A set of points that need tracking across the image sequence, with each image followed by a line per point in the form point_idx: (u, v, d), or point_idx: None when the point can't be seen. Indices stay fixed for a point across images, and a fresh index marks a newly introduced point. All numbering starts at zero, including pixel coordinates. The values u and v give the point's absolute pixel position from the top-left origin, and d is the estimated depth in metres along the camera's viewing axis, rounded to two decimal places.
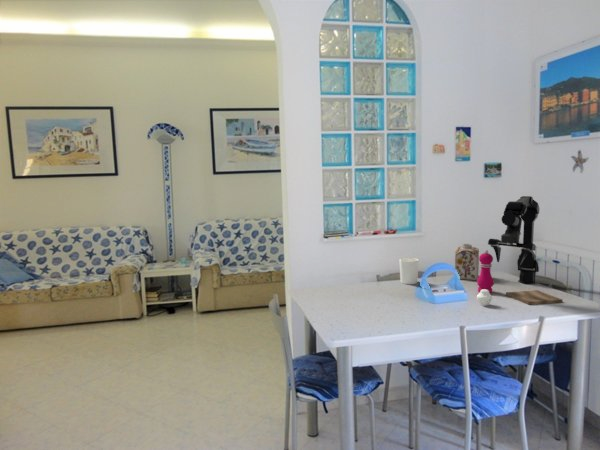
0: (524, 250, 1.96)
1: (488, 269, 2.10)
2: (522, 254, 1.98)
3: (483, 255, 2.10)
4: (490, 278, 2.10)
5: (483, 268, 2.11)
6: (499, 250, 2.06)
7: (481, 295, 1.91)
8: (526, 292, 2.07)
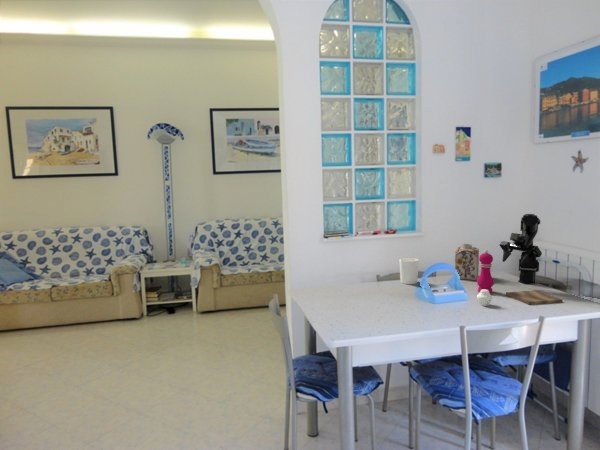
0: (528, 250, 2.08)
1: (488, 269, 2.10)
2: (526, 255, 2.09)
3: (483, 255, 2.10)
4: (490, 278, 2.10)
5: (483, 268, 2.11)
6: (508, 253, 2.19)
7: (481, 295, 1.91)
8: (526, 292, 2.07)
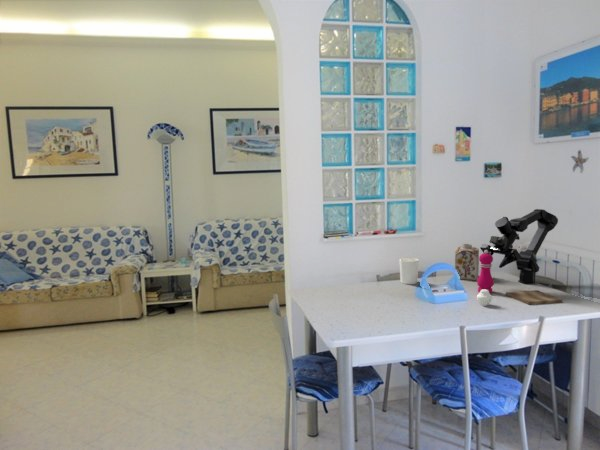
0: (507, 253, 2.09)
1: (488, 269, 2.10)
2: (504, 258, 2.10)
3: (483, 255, 2.10)
4: (490, 278, 2.10)
5: (483, 268, 2.11)
6: None
7: (481, 295, 1.91)
8: (526, 292, 2.07)
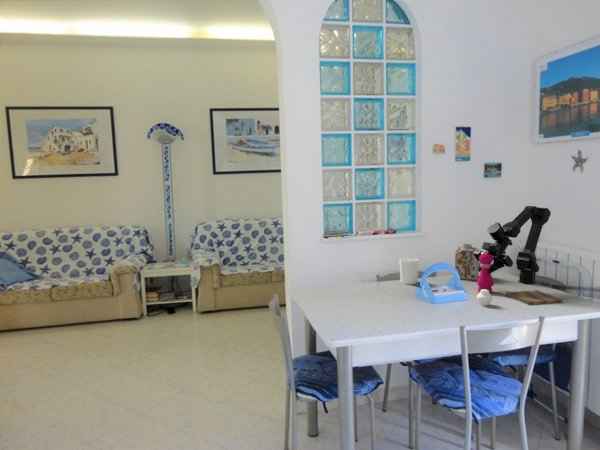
0: (496, 259, 2.08)
1: (488, 269, 2.10)
2: (493, 264, 2.09)
3: (483, 255, 2.10)
4: (490, 278, 2.10)
5: (483, 268, 2.11)
6: None
7: (481, 295, 1.91)
8: (526, 292, 2.07)
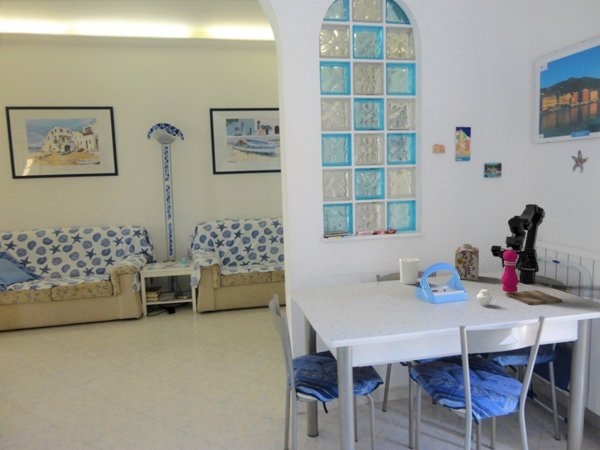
0: (522, 254, 2.01)
1: (514, 267, 2.02)
2: (519, 258, 2.02)
3: (509, 252, 2.01)
4: (516, 276, 2.02)
5: (509, 266, 2.02)
6: None
7: (481, 295, 1.91)
8: (526, 292, 2.07)
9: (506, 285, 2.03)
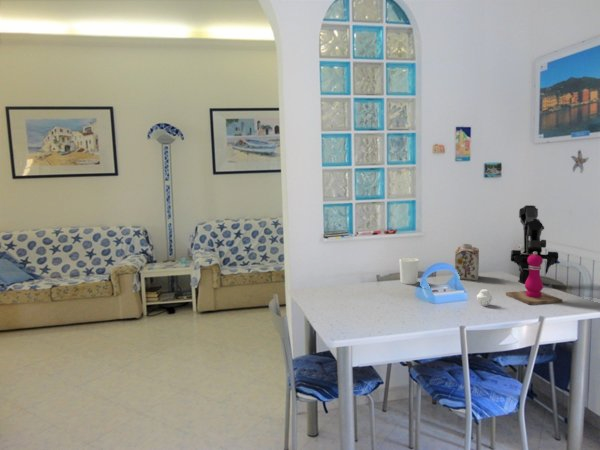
0: (551, 257, 1.98)
1: (539, 271, 1.99)
2: (548, 262, 1.98)
3: (536, 257, 1.97)
4: (541, 280, 1.99)
5: (535, 271, 1.98)
6: None
7: (481, 295, 1.91)
8: None
9: (532, 290, 1.99)
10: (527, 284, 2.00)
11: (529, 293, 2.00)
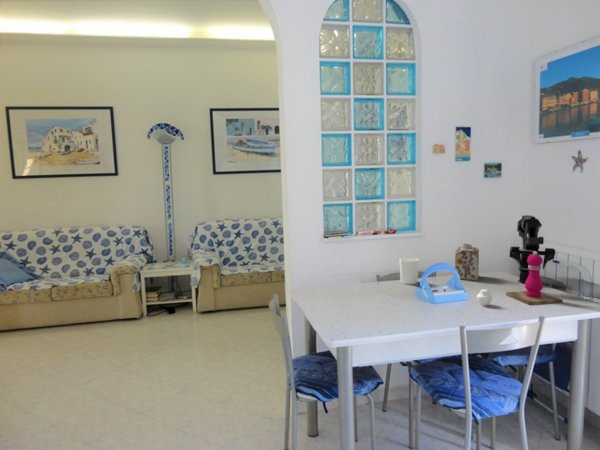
0: (548, 254, 2.06)
1: (539, 271, 1.99)
2: (545, 258, 2.07)
3: (536, 257, 1.97)
4: (541, 280, 1.99)
5: (535, 271, 1.98)
6: None
7: (481, 295, 1.91)
8: None
9: (532, 290, 1.99)
10: (527, 284, 2.00)
11: (529, 293, 2.00)
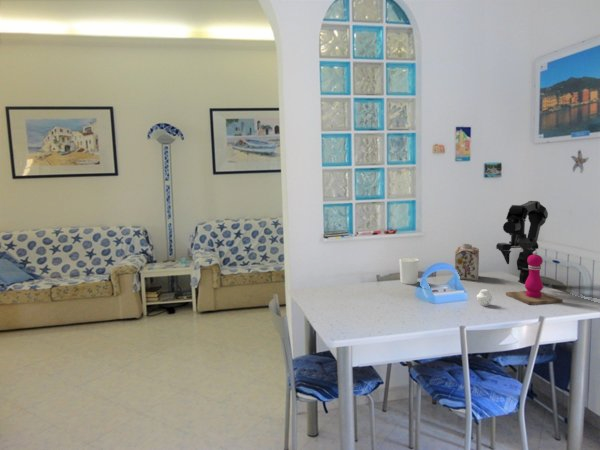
0: (532, 250, 2.16)
1: (539, 271, 1.99)
2: (529, 254, 2.17)
3: (536, 257, 1.97)
4: (541, 280, 1.99)
5: (535, 271, 1.98)
6: None
7: (481, 295, 1.91)
8: None
9: (532, 290, 1.99)
10: (527, 284, 2.00)
11: (529, 293, 2.00)
